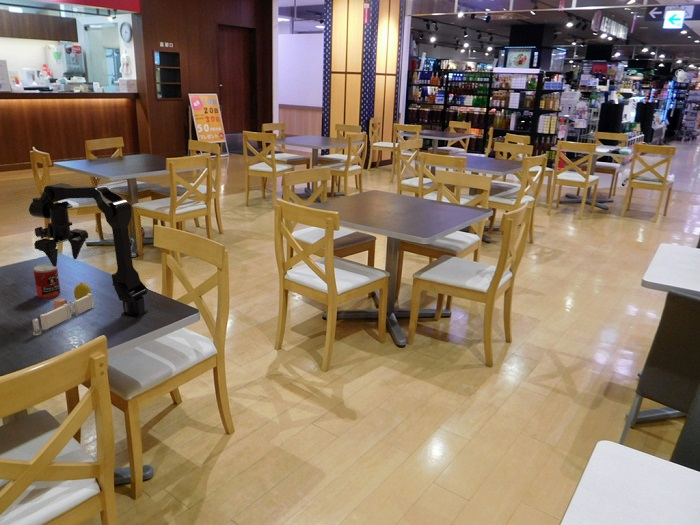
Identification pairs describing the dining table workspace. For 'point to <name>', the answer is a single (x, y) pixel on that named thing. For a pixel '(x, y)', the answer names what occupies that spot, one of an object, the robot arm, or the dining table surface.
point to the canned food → (47, 281)
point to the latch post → (36, 327)
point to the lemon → (81, 290)
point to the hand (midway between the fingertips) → (65, 262)
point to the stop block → (59, 302)
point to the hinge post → (72, 309)
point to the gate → (55, 316)
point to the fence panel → (84, 303)
